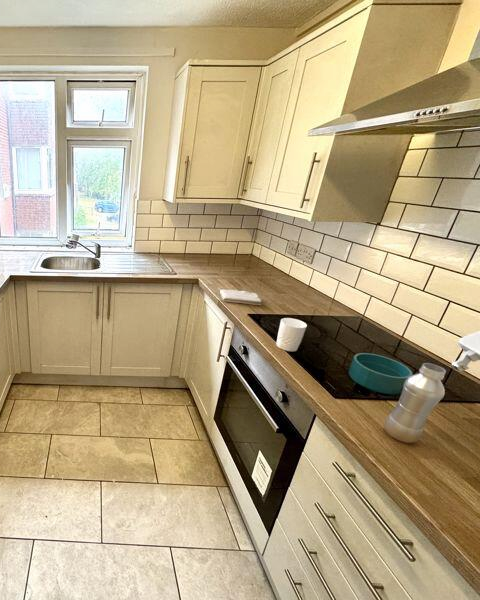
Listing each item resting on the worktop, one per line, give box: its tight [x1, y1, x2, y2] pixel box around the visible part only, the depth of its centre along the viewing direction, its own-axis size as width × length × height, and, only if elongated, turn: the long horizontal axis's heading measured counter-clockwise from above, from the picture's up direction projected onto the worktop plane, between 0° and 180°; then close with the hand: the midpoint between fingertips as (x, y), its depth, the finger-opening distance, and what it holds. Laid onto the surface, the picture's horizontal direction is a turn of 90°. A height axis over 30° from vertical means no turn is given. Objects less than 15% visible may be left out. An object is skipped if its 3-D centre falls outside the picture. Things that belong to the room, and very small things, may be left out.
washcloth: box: [219, 289, 263, 306], centre depth 158 cm, size 12×18×3 cm, turn 75°
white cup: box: [275, 317, 308, 352], centre depth 114 cm, size 8×8×10 cm
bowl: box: [347, 352, 414, 395], centre depth 96 cm, size 13×13×6 cm
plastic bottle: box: [383, 362, 447, 444], centre depth 73 cm, size 6×7×20 cm
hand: (474, 380), depth 68 cm, fingers open, 8 cm apart
